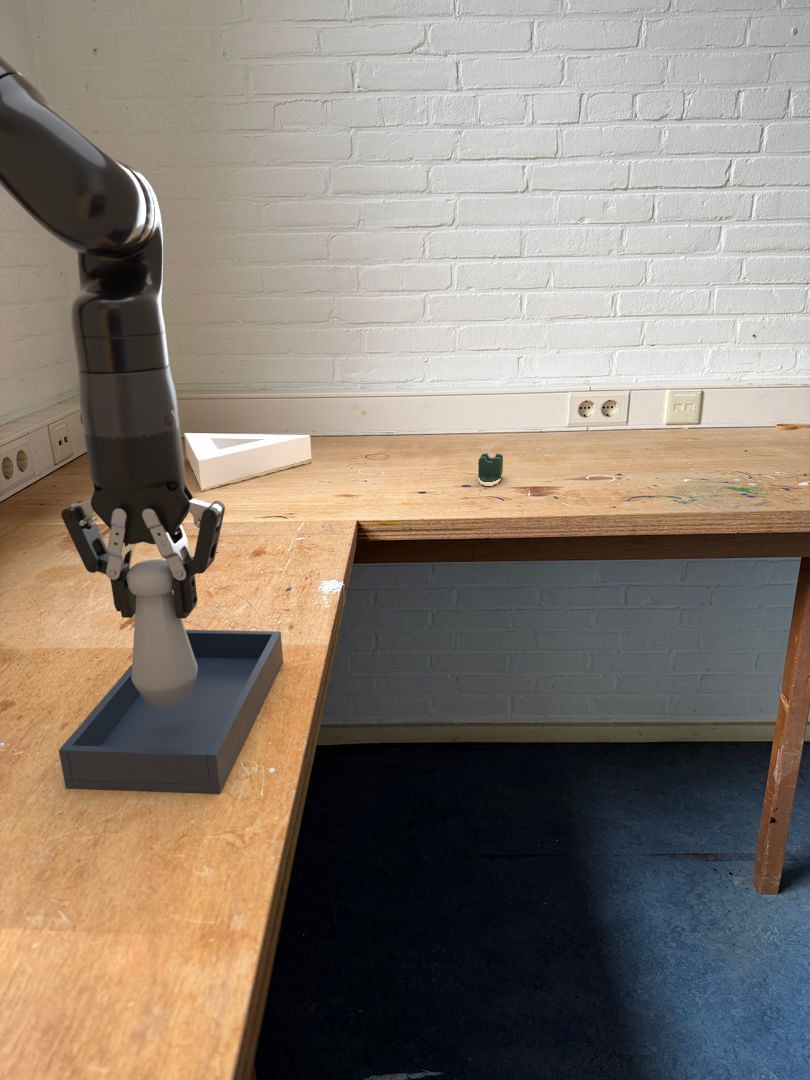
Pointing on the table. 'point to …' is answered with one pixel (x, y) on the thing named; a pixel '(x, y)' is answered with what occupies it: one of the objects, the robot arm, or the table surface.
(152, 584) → the salt shaker
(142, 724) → the dark blue tray
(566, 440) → the table surface
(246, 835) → the table surface
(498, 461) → the mount
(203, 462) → the triangle block
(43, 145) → the robot arm
